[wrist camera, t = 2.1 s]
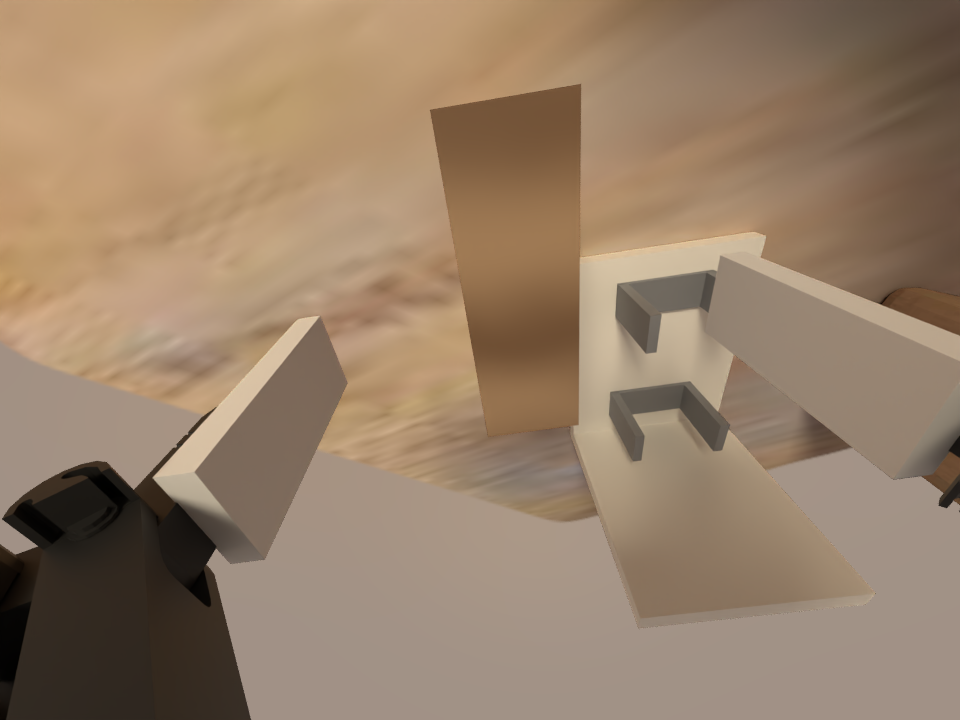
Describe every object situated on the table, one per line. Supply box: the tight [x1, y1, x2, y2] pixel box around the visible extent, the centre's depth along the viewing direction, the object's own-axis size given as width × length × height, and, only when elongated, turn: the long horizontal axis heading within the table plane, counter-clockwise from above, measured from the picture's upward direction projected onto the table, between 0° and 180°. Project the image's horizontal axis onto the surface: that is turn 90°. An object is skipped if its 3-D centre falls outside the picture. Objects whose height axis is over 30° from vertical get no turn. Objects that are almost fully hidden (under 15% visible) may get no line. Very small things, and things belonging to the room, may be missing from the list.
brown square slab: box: [430, 84, 581, 437], centre depth 18 cm, size 12×4×12 cm, turn 8°
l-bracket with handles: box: [570, 232, 876, 628], centre depth 22 cm, size 16×12×15 cm
